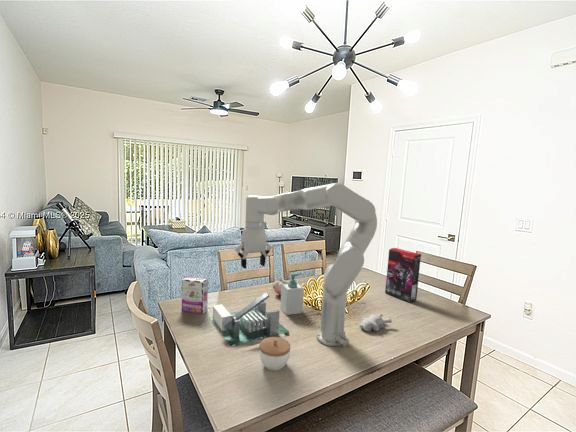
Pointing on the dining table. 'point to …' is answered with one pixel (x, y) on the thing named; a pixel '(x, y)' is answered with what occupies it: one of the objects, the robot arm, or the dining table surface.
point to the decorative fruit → (278, 285)
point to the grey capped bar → (243, 311)
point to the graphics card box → (403, 274)
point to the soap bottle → (292, 296)
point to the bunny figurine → (374, 322)
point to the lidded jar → (274, 352)
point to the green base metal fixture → (253, 326)
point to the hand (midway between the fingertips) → (253, 266)
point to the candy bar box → (194, 295)
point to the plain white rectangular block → (220, 315)
